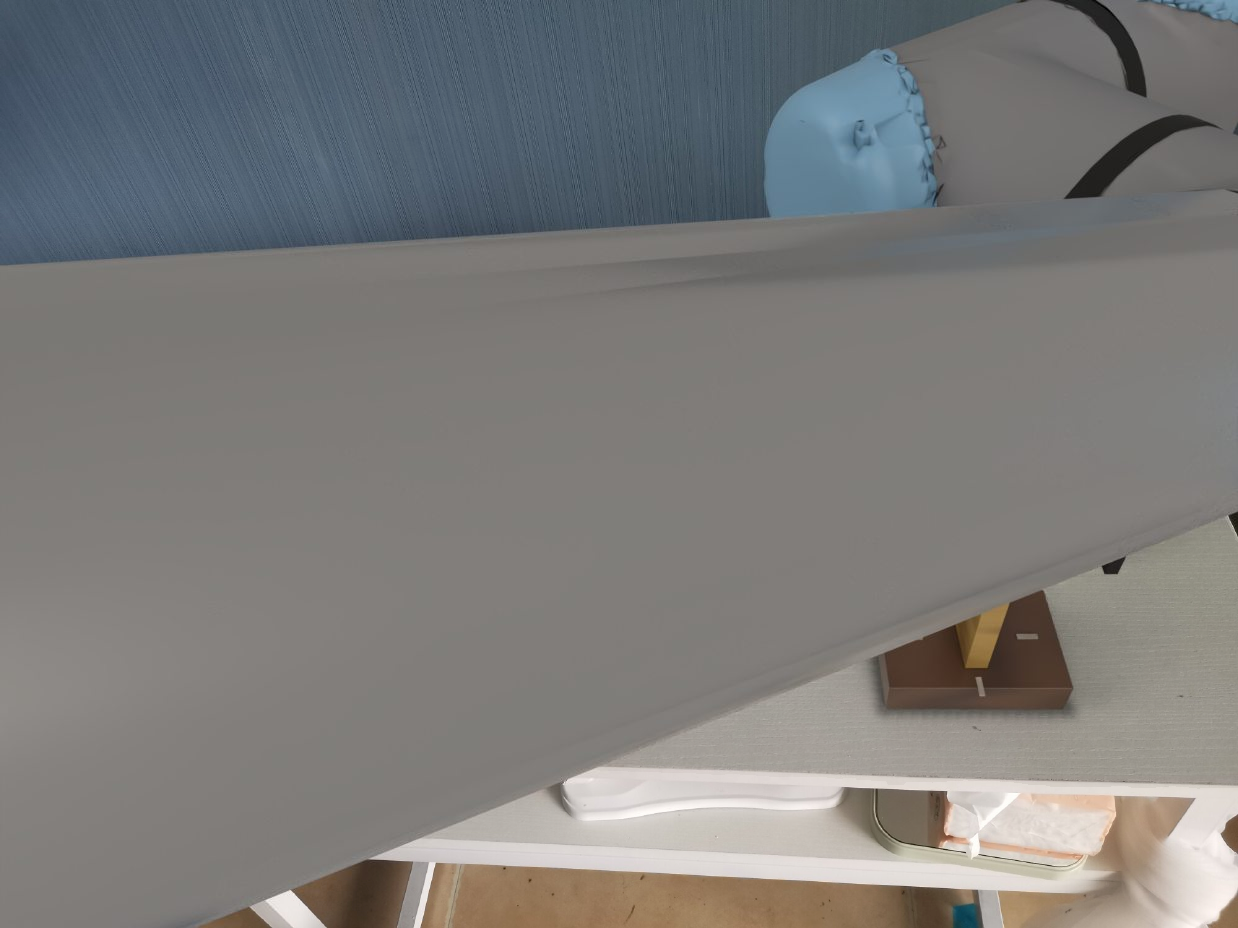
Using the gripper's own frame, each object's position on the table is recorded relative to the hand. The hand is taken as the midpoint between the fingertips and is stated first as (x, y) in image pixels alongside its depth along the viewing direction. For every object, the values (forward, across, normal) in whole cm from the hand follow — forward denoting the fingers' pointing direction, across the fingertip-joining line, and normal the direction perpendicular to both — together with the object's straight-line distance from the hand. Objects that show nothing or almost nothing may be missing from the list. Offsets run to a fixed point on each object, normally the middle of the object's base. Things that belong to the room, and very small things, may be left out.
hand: (989, 558), depth 56 cm
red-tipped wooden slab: (+10, 0, 0) cm, 10 cm away
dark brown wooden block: (+13, 0, 0) cm, 13 cm away
